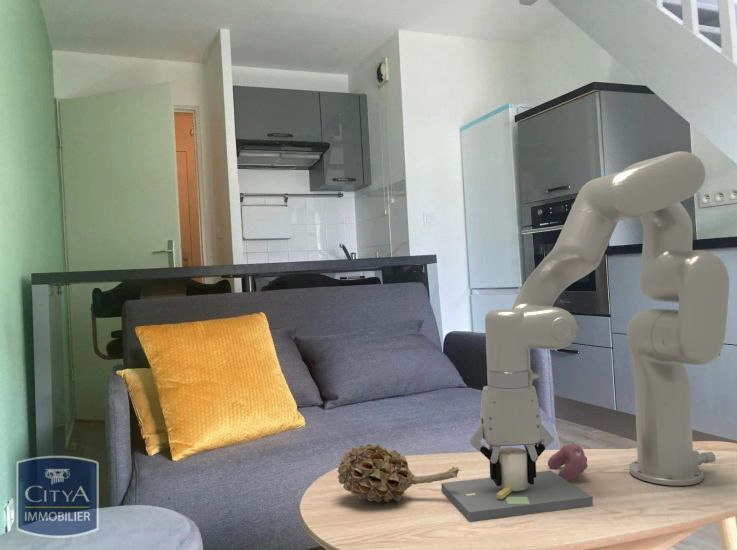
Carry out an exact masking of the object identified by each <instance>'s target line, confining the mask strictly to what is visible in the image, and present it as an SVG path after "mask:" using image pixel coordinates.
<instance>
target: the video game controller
mask: <svg viewBox="0 0 737 550" xmlns="http://www.w3.org/2000/svg"><path fill="white" fill-rule="evenodd" d="M562 466H563V468H561V470H560V471H559V472H558V474H557V475H559V476H560V477H562V478H564V479H565V480H567V481H568V482H570V483H571V481H573V480H575V479H576V478H577V477H579V475H580V474H582V473H583V472H584V471H585V470H586V469H587V468H588V467H589V466H588V457H587V456H586V455H585V451H584V449H583V447H581V446H579V445H577V444H575V443H571V444H570V443H569V442H566V444H564V445H562V447H561V448H560V449H559V450H558V451H556V452H555V453H554V454H553V455H551V456H550V458H549V459H548V460H547V467H549V468H550V469H558V468H560V467H562Z"/></svg>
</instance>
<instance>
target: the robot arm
mask: <svg viewBox="0 0 737 550" xmlns="http://www.w3.org/2000/svg"><path fill="white" fill-rule="evenodd" d="M704 165H705V164H703V161H702V160H701V159H700V158H699V157H698V156H697V155H695V153H691V152H689V151H675V152H671V153H670V152H669V153H666V154H662V155H659V156H656V157H653V158H648V159H644V160H641V161H638V162H636V163H633V164H631V165H629V166H627V167H626V168H624V169H623V170H622V171H618V172H615V173H611V174H607V175H605V176H604V175H603V176H600V177H596V178H593V179H591V180H589V181H587V182H586V183H585V184H584V185H582V187H581V188H580V190H579V191H578V193H577V196H576V197H575V200H574V202H573V203H572V204H573V205H572V206H571V209H570V210H569V213H568V215H567V217H566V220H565V223H564V225H563V227H562V229H561V231H560V233H559V236H558V238H557V240H556V242H555V244H554V247H553V248H552V250H551V251H550V252H549V253H548V254H547V255H546V256H544V258H543V259H542V260H541V262H539V264H538V265H537V266H536V267H535V268H534V270H533V271H532V272H531V273H530V275H528V276H527V278H526V280H525V282H524V283H523V285H522V286H521V288H520V290H519V292H518V294H517V297H516V299H515V302H514V303H513V306H512V307H511V308H512V309H511V308H510V309H509V308H507V309H506V308H504V309H501V308H500V309H493V310H490V311H488V312H486V314H485V318H484V326H485V349H486V350H485V351H486V376H487V378H486V379H487V385H485V386H483V387H482V392H481V399H480V400H481V401H480V414H479V416H480V420H479V421H480V422H479V423H480V425H479V427H478V428H477V430H476V431H475V432H474V434H473V435H472V436H471V438H470V439H469V444H470V445H471V446H472V447H473V448H474V449H475V450H477V451H478V452H480V453H481V454H482V455H483V456H484V457H485V458H486V459H488V460H489V478H491V480H493V481H494V482H495V484H496V485H497V486H500V485H501V465H500V463H499V462H498V456H499V452H500V449H502V448H501V447H513V446H523V447H524V450H526V451H527V471H528V483H529V484H534V478H536V472H537V461H538V460H539V457H540V456H541V455H542V454H543V453H544V452H545V450H546V448H548V447H549V446H551V444H553V442H554V441H555V438H554V437H553V436H552V434H550V432H549V431H548V430H547V429H546V427H544V425H543V424H542V417H541V416H542V415H541V410H540V404H539V397H538V394H537V391H536V386H534V384H533V382H534V381H535V380H539V379H540V373H539V372H538V371H534V370H533V369H531V349H539V350H553V351H554V350H561V349H564V348H567V347H568V346H570V345H571V344H572V343H573V342H574V341H575V339H576V337H577V335H578V330H579V328H578V326H579V325H578V322H577V320H576V319H575V316H573V314H572V313H570V312H569V311H568V310H566V309H563V308H561V307H557V306H554V305H555V302H556V300H557V299H558V298H559V296H560V295H561V294H562V293H563V292H564V291H565V290H566V289H567V288H568V287H569V286H571V285H572V284H573V283H575V282H577V281H579V280H581V279H583V278H584V277H586V276H588V275H589V274H590V273H592V272H593V271H595V270H596V269H597V268H598V267H599V266H600V264H601V262H602V260H603V256H604V255H605V252H606V250H607V248H608V246H609V244H610V241H611V238H612V236H613V234H614V232H615V231H616V230H615V229H616V227H617V226H618V223H619V222H620V221H626V220H632V219H633V220H634V219H637V218H639V219H640V222H641V224H642V232H643V233H642V235H643V236H642V249H641V251H642V252H641V260H640V262H641V263H640V272H639V273H640V275H639V287H640V290H641V292H642V294H643V295H644V296H645V297H646V298H647V299H648V300H649V299H650V300H652V301H656V302H662V303H677V304H678V309H669V308H668V309H667V308H650V309H648V308H647V309H644V310H642V311H640V312H638V313H636V314H635V315H633V317H632V318H631V319H630V321H629V323H628V325H627V329H626V341H627V345H628V350H629V353H630V357H631V363H632V367H633V368H632V369H633V378H634V401H635V402H634V403H635V404H634V406H635V407H634V408H635V429H636V431H635V432H636V452H637V456H636V457H637V460H634V461H632V462H631V463H629V465H628V466H629V467H628V470H629V473H630V474H631V475H632V476H634V477H635V478H637V479H639V480H641V481H645V482H648V483H650V484H651V483H652V484H658V485H663V486H664V485H665V486H673V487H675V486H676V487H677V486H678V487H679V486H683V487H685V486H693V485H696V484H699V483H701V482H702V481H703V480H704V472H703V470H702V469H701V468H699V467H700V466H701V465H702V464H703V463H704V464H708V463H715V462H716V458H717V457H716V455H715V453H714V452H712V451H707V452H701V453H699V450H694V448H693V446H694V445H693V426H692V425H693V420H692V401H691V400H692V399H691V398H692V397H691V383H690V378H689V375H688V372H687V369H686V367H685V365H691V366H692V365H693V366H704V365H708V364H711V363H712V362H714V361H715V360H717V358H718V357H719V356H720V354H721V352H722V350H723V347H724V342H725V339H726V331H727V329H726V328H727V317H728V308H729V307H728V306H729V297H730V295H729V294H730V277H729V272H728V270H727V266H726V265H725V262H724V261H723V260H722V259H721V258H720V257H719V256H718V255H716V254H715V253H714V252H710V251H708V250H701V249H697V250H693V240H694V239H693V236H694V234H693V233H694V232H693V231H694V230H693V228H694V227H693V222H692V219H691V216H690V215H689V213H688V211H687V210H686V207H684V206H683V205H682V203H681V202H682V201H685V200H688V199H690V198H692V197H693V196H695V195H696V194H697V193H698V192H699V191H700V189H702V186H703V185H704V182H705V178H706V168H705V166H704ZM482 439H483V440H485V443H486V444H487V445H488V447H487V446H486V445H484V444H483V443H482V442H481V441H482Z"/></svg>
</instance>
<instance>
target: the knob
mask: <svg viewBox="0 0 737 550" xmlns="http://www.w3.org/2000/svg"><path fill="white" fill-rule="evenodd" d="M498 462H499V463H500V465H501V485H500V487H501V488H502V490H501V491H500V492H498V493H497V494H496V498H498V499H503V498H504V497H506V496H507V495H508V494H509V493H511V492H512V491H521V490H525V489H527V488H528V471H527V451H526V450H525V448H524V449H523V448H519V447H513V446H508V447H502V448H500V452H499V456H498Z"/></svg>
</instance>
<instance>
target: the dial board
mask: <svg viewBox="0 0 737 550" xmlns="http://www.w3.org/2000/svg"><path fill="white" fill-rule="evenodd" d="M440 485H441V493H442V494H444V496H446V498H447V499H448V500H449V501H450V502H451V504H452V505H454V506H455V508H456V509H457V510H458V512H459V513H461V514H462V515H463V516H464V517H465V519H466V520H467V521H468V522H478V521H484V520H493V519H501V518H508V517H509V518H510V517H516V516H524V515H530V514H539V513H547V512H548V513H549V512H555V511H563V510H569V509H570V510H571V509H579V508H586V507H593V506H594V497H593V495H591V494H589V493H588V492H586V491H584V490H582V489H581V488H580V487H577V485H575V484H573V483H572V482H571V481H570V482H568V481H567V480H565V479H564V478H562V477H560V476H559V475H558V474H557V473H555V472H554V471H552V470H545V471H544V470H543V471H536V478H534V484H529V483H528V488H527V489H525V490H521V491H512V492H511V493H509V494H508V495H507V496H506V497H504V498H503V499H498V498H496V494H497V493H498V492H500V491H501V490H502V488H501V487H500V486H497V485H496V484H495V482H494V481H493V480H491V478H490V477H483V478H482V477H481V478H474V479H463V480H457V481H447V482H441V483H440Z"/></svg>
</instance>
